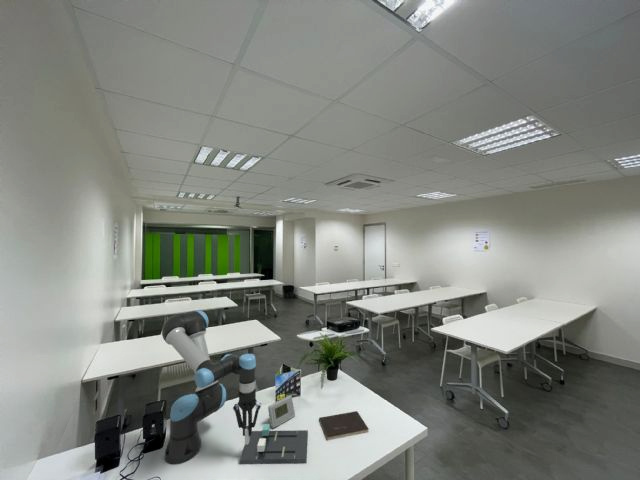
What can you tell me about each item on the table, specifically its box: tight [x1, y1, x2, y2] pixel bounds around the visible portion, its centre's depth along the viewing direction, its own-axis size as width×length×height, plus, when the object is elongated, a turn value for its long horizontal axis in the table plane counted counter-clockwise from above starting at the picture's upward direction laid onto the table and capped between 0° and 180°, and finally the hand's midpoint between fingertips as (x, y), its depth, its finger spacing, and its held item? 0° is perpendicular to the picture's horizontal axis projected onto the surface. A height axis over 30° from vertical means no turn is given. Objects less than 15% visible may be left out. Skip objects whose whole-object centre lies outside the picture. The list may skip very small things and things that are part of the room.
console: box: [238, 429, 309, 465], centre depth 121 cm, size 30×18×2 cm, turn 91°
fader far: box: [261, 423, 271, 436], centre depth 126 cm, size 3×4×4 cm
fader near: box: [257, 438, 266, 452], centre depth 116 cm, size 3×4×4 cm
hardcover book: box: [318, 410, 370, 441], centre depth 136 cm, size 16×23×2 cm
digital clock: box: [267, 394, 296, 429], centre depth 141 cm, size 16×9×11 cm, turn 123°
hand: (247, 442), depth 116 cm, fingers closed
